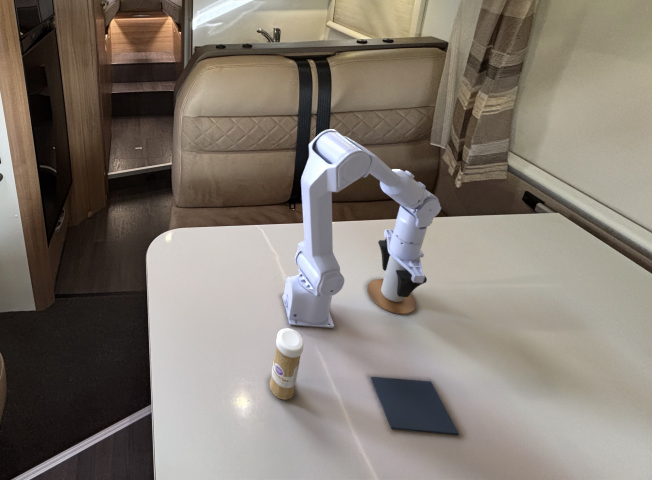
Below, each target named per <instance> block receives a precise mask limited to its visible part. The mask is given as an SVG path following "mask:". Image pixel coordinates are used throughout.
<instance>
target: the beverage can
mask: <svg viewBox="0 0 652 480" xmlns="http://www.w3.org/2000/svg"><path fill="white" fill-rule="evenodd" d="M396 270H405V271H406V269H405V268H404V267H403V266H402V265H401V264H400V263H399V262H398V261H396V260H395V259H394V258H393V257H392V256H391V255H390V257H389V261H388V265H387V269H386V271H384V272H385V273H384V277H383V279H384V280H383V284H382V287H381V292H382V294H383V295H384V296H385V297H386V298H387V299H389V300H390V301H393V302H401V301H403V300H404V297H399V296H398V295H397V287H398V277H397V273H396Z"/></svg>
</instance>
